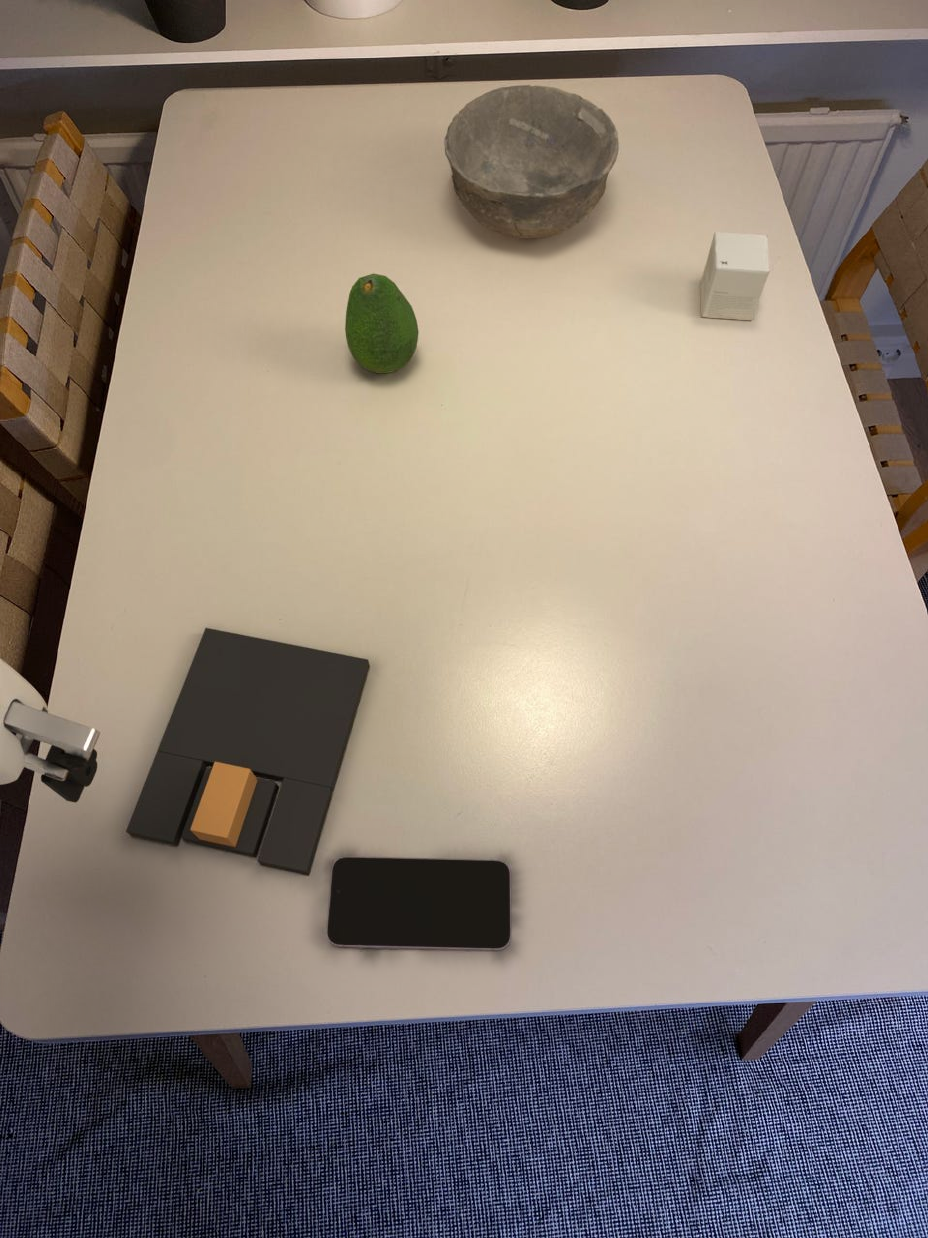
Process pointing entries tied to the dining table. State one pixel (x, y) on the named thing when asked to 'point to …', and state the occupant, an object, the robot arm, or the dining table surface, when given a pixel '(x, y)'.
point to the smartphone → (419, 903)
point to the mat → (256, 738)
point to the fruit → (380, 325)
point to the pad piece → (230, 810)
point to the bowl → (530, 159)
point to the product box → (734, 275)
